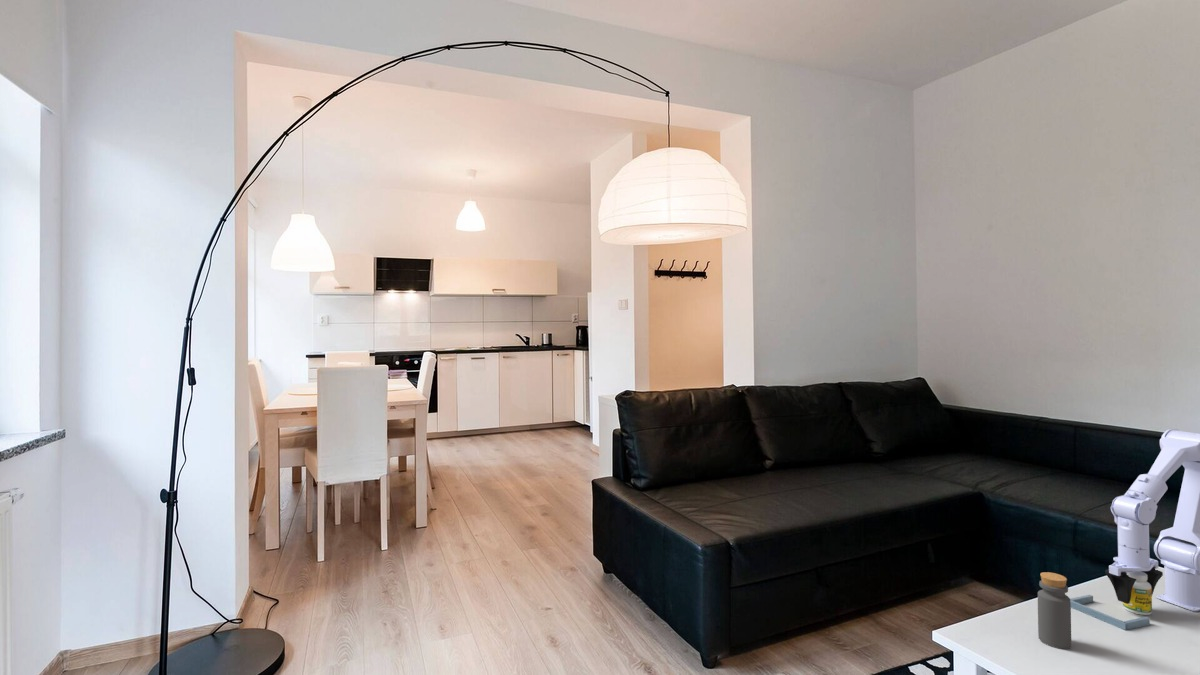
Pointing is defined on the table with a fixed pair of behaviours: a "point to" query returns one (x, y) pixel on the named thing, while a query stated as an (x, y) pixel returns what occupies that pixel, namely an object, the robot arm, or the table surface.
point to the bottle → (1054, 611)
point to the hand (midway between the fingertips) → (1134, 599)
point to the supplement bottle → (1140, 594)
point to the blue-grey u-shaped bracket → (1125, 625)
